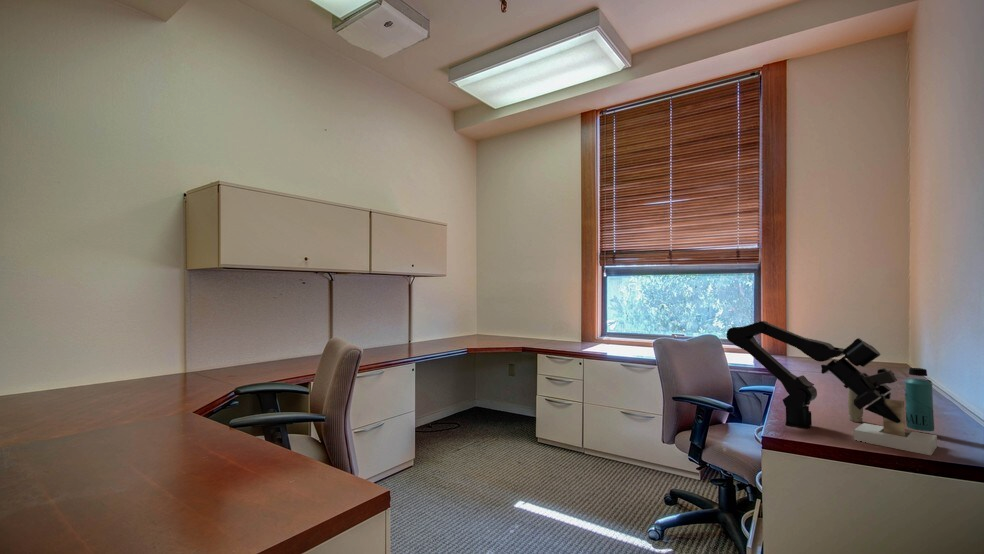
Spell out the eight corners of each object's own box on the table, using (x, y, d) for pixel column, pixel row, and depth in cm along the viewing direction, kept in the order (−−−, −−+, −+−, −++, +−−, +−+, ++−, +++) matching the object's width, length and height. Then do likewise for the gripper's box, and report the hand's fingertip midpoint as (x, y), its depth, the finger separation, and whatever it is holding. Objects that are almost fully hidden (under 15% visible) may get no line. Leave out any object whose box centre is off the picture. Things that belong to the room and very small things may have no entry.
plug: (883, 442, 127) (882, 400, 127) (886, 440, 129) (885, 398, 130) (902, 446, 124) (901, 403, 124) (905, 443, 126) (904, 401, 127)
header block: (854, 440, 129) (853, 429, 129) (864, 432, 137) (863, 423, 137) (931, 455, 117) (930, 443, 117) (937, 446, 124) (936, 435, 124)
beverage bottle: (929, 432, 138) (926, 367, 139) (939, 437, 132) (936, 370, 133) (902, 429, 141) (899, 365, 142) (911, 434, 135) (908, 368, 136)
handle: (871, 423, 147) (869, 378, 148) (849, 422, 148) (847, 377, 149) (862, 420, 152) (860, 375, 153) (841, 418, 153) (839, 375, 154)
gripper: (866, 362, 125) (922, 409, 116) (880, 357, 137) (932, 399, 128) (833, 386, 131) (884, 433, 121) (849, 379, 142) (897, 421, 133)
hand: (900, 421), depth 126 cm, fingers closed on plug, 4 cm apart
